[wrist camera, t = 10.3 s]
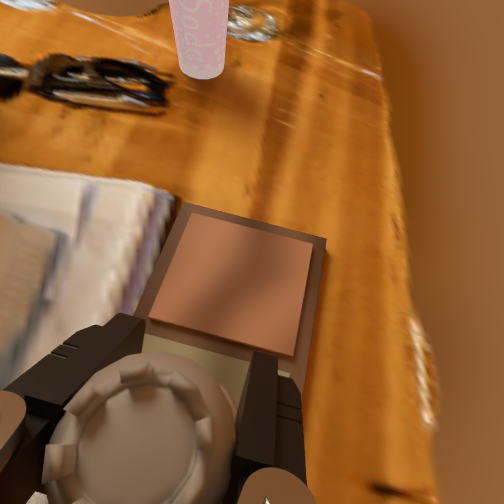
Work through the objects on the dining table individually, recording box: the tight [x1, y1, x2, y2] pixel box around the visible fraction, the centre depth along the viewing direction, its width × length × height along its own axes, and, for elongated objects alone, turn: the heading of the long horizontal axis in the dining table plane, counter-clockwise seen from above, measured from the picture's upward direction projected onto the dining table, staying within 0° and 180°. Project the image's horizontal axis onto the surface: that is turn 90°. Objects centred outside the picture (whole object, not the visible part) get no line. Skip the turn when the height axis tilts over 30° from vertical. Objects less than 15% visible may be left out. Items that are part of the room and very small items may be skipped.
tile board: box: [133, 202, 327, 408], centre depth 17 cm, size 11×28×1 cm, turn 166°
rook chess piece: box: [41, 351, 238, 504], centre depth 8 cm, size 4×4×8 cm
